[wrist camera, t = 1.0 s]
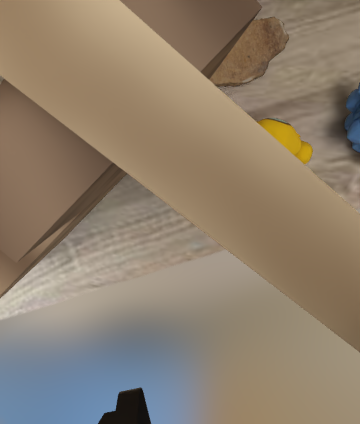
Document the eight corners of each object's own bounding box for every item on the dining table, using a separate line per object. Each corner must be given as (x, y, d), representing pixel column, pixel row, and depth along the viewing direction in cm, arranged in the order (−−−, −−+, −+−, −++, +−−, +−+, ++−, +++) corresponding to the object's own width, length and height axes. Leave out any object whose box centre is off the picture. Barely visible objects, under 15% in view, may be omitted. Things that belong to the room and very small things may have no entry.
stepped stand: (121, 52, 39) (-19, -341, 8) (182, 116, 41) (262, 7, 10) (-3, 185, 41) (-504, 295, 10) (61, 240, 43) (-188, 474, 12)
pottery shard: (165, 34, 40) (165, 28, 38) (283, 15, 40) (289, 8, 38) (175, 97, 41) (176, 95, 40) (289, 78, 42) (294, 75, 40)
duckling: (212, 149, 42) (228, 148, 33) (225, 110, 42) (246, 98, 32) (286, 174, 44) (324, 181, 34) (300, 137, 43) (343, 133, 33)
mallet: (-82, -241, 8) (-302, -601, 4) (407, 212, 12) (532, 243, 8) (-211, -16, 9) (-498, -145, 5) (286, 346, 12) (344, 436, 9)
